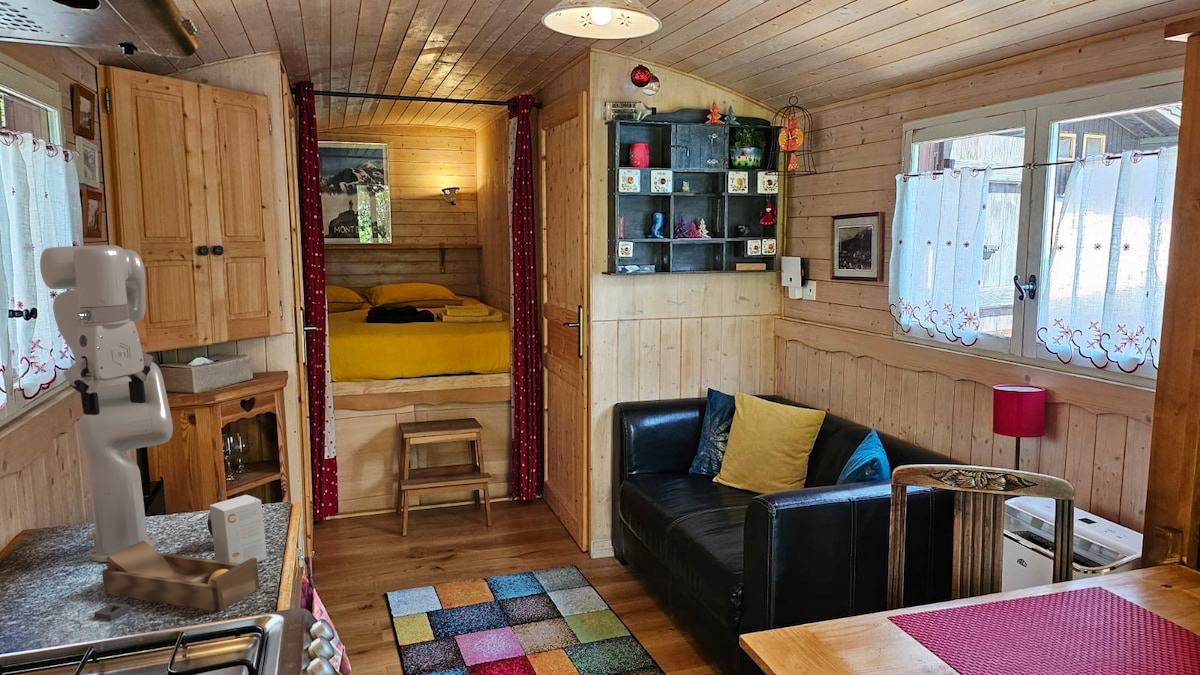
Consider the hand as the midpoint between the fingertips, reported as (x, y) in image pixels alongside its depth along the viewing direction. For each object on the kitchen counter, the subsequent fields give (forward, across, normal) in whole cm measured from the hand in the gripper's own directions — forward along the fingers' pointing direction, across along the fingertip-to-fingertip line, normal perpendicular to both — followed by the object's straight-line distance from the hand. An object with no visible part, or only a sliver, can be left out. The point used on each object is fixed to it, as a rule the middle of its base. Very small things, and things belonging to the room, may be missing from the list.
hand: (115, 408), depth 150 cm
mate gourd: (+36, +25, +2) cm, 44 cm away
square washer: (+36, -7, -2) cm, 37 cm away
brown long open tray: (+36, +4, -7) cm, 37 cm away
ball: (+34, +4, -17) cm, 38 cm away
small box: (+37, +18, -8) cm, 42 cm away
